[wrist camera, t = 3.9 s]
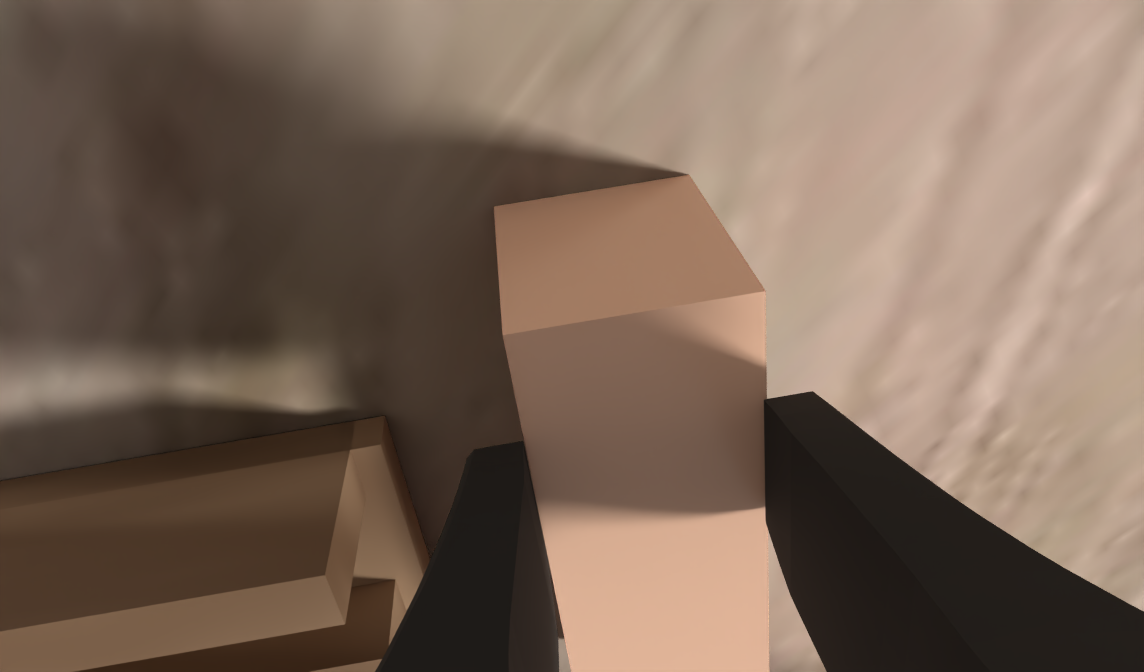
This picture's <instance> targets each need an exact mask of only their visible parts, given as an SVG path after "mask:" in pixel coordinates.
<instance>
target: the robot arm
mask: <svg viewBox="0 0 1144 672" xmlns="http://www.w3.org/2000/svg"><path fill="white" fill-rule="evenodd" d="M764 452H765V518H766V525H767V528H768V531H769V534H770V537H771V540H772V543H773V546H774V549H775V552H776V555H777V558H778V561H779V564H780V567H781V569H782V572H783V575H784V578H785V581H786V584H787V587H788V589H789V592H790V595H791V597H792V599H793V601H794V604H795V606H796V608H797V610H798V612H799V614H800V616H801V619H802V621H803V623H804V625H805V627H806V629H807V631H808V633H809V635H810V637H811V640H812V642H813V644H814V646H815V648H816V650H817V652H818V654H819V656H820V658H821V661H822V663H823V665H824V667H825V669H826V671H827V672H1144V612H1143V611H1141V610H1139V609H1138V608H1136V607H1134V606H1132V605H1130V604H1128V603H1126V602H1125V601H1123V600H1121V599H1119V598H1117V597H1116V596H1114V595H1112V594H1110V593H1108V592H1107V591H1105V590H1103V589H1101V588H1099V587H1098V586H1096V585H1094V584H1092V583H1090V582H1088V581H1087V580H1085V579H1083V578H1081V577H1079V576H1078V575H1076V574H1074V573H1072V572H1070V571H1069V570H1067V569H1065V568H1063V567H1062V566H1060V565H1058V564H1057V563H1055V562H1053V561H1052V560H1050V559H1048V558H1046V557H1045V556H1043V555H1041V554H1040V553H1038V552H1036V551H1035V550H1033V549H1032V548H1030V547H1028V546H1027V545H1025V544H1024V543H1022V542H1021V541H1019V540H1017V539H1016V538H1014V537H1013V536H1011V535H1010V534H1008V533H1006V532H1005V531H1003V530H1002V529H1000V528H999V527H997V526H996V525H994V524H992V523H991V522H989V521H988V520H986V519H985V518H983V517H981V516H980V515H978V514H977V513H975V512H974V511H972V510H971V509H970V508H968V507H967V506H965V505H964V504H962V503H961V502H959V501H958V500H956V499H955V498H954V497H952V496H951V495H949V494H948V493H947V492H945V491H944V490H942V489H941V488H940V487H938V486H937V485H935V484H934V483H933V482H931V481H930V480H929V479H927V478H926V477H924V476H923V475H922V474H920V473H919V472H917V471H916V470H915V469H913V468H912V467H911V466H909V465H908V464H907V463H905V462H904V461H902V460H901V459H900V458H898V457H897V456H896V455H894V454H893V453H892V452H891V451H889V450H888V449H887V448H885V447H884V446H883V445H881V444H880V443H879V442H878V441H876V440H875V439H874V438H872V437H871V436H870V435H868V434H867V433H866V432H865V431H863V430H862V429H861V428H859V427H858V426H857V425H856V424H854V423H853V422H852V421H850V420H849V419H848V418H847V417H845V416H844V415H843V414H842V413H840V412H839V411H838V410H836V409H835V408H834V407H833V406H831V405H830V404H829V403H827V402H826V401H825V400H823V399H822V398H821V397H819V396H818V395H817V394H815V393H814V392H813V391H812V392H806V393H800V394H794V395H788V396H782V397H777V398H771V399H765V400H764ZM375 672H559V652H558V632H557V624H556V616H555V608H554V600H553V592H552V585H551V577H550V569H549V562H548V556H547V551H546V547H545V542H544V537H543V532H542V528H541V523H540V518H539V513H538V508H537V504H536V499H535V494H534V489H533V485H532V480H531V475H530V470H529V466H528V461H527V456H526V451H525V446H524V442H523V441H521V442H515V443H509V444H503V445H497V446H492V447H486V448H480V449H474V450H473V452H472V453H471V454H470V455H469V456H468V458H467V460H466V464H465V467H464V471H463V475H462V478H461V481H460V484H459V487H458V490H457V493H456V496H455V499H454V502H453V505H452V508H451V510H450V513H449V516H448V518H447V521H446V523H445V526H444V529H443V531H442V534H441V536H440V539H439V541H438V543H437V546H436V548H435V550H434V552H433V555H432V557H431V559H430V562H429V564H428V566H427V569H426V571H425V573H424V576H423V578H422V580H421V583H420V585H419V587H418V589H417V591H416V593H415V595H414V597H413V599H412V601H411V603H410V605H409V607H408V609H407V611H406V613H405V615H404V617H403V619H402V621H401V623H400V625H399V627H398V629H397V631H396V633H395V635H394V637H393V639H392V641H391V643H390V645H389V647H388V649H387V651H386V653H385V655H384V656H383V658H382V660H381V662H380V664H379V666H378V667H377V669H376V671H375Z"/></svg>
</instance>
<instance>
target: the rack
mask: <svg viewBox="0 0 1144 672" xmlns="http://www.w3.org/2000/svg"><path fill="white" fill-rule="evenodd" d="M429 562H430V558H429V555H428V551H427V548H426V545H425V542H424V539H423V536H422V532H421V529H420V526H419V523H418V520H417V516H416V513H415V510H414V507H413V504H412V501H411V497H410V494H409V491H408V488H407V485H406V481H405V478H404V475H403V472H402V469H401V466H400V462H399V459H398V456H397V453H396V450H395V446H394V443H393V440H392V437H391V434H390V431H389V427H388V424H387V421H386V418H385V416H381V417H375V418H369V419H363V420H357V421H351V422H345V423H339V424H333V425H328V426H322V427H316V428H310V429H304V430H298V431H292V432H286V433H281V434H275V435H269V436H263V437H257V438H251V439H245V440H239V441H233V442H228V443H222V444H216V445H210V446H204V447H198V448H192V449H186V450H180V451H175V452H169V453H163V454H157V455H151V456H145V457H139V458H133V459H128V460H122V461H116V462H110V463H104V464H98V465H92V466H86V467H80V468H75V469H69V470H63V471H57V472H51V473H45V474H39V475H33V476H28V477H22V478H16V479H10V480H4V481H0V672H375V671H376V669H377V667H378V666H379V664H380V662H381V660H382V658H383V656H384V655H385V653H386V651H387V649H388V647H389V645H390V643H391V641H392V639H393V637H394V635H395V633H396V631H397V629H398V627H399V625H400V623H401V621H402V619H403V617H404V615H405V613H406V611H407V609H408V607H409V605H410V603H411V601H412V599H413V597H414V595H415V593H416V591H417V589H418V587H419V585H420V583H421V580H422V578H423V576H424V573H425V571H426V569H427V566H428V564H429Z"/></svg>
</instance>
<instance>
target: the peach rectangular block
mask: <svg viewBox="0 0 1144 672" xmlns="http://www.w3.org/2000/svg"><path fill="white" fill-rule="evenodd" d="M494 218H495V232H496V247H497V262H498V276H499V291H500V305H501V320H502V335H503V340H504V345H505V350H506V355H507V359H508V364H509V369H510V374H511V379H512V384H513V389H514V394H515V399H516V403H517V408H518V413H519V418H520V423H521V428H522V433H523V438H524V442H525V447H526V452H527V457H528V462H529V467H530V472H531V477H532V482H533V486H534V491H535V496H536V501H537V506H538V511H539V516H540V521H541V526H542V530H543V535H544V540H545V545H546V550H547V555H548V560H549V565H550V570H551V574H552V579H553V584H554V589H555V594H556V599H557V604H558V609H559V614H560V618H561V623H562V628H563V633H564V638H565V643H566V648H567V653H568V658H569V662H570V667H571V672H769V595H768V528H767V525H766V518H765V452H764V400H765V399H767V382H766V291H765V289H764V288H763V286H762V285H761V283H760V282H759V280H758V279H757V277H756V276H755V274H754V273H753V271H752V270H751V268H750V267H749V265H748V263H747V262H746V260H745V259H744V257H743V256H742V254H741V253H740V251H739V250H738V248H737V247H736V245H735V244H734V242H733V241H732V239H731V238H730V236H729V235H728V233H727V232H726V230H725V229H724V227H723V225H722V224H721V222H720V221H719V219H718V218H717V216H716V215H715V213H714V212H713V210H712V209H711V207H710V206H709V204H708V203H707V201H706V200H705V198H704V197H703V195H702V194H701V192H700V191H699V189H698V187H697V186H696V184H695V183H694V181H693V180H692V178H691V177H690V175H684V176H678V177H672V178H666V179H660V180H653V181H647V182H641V183H635V184H629V185H623V186H616V187H610V188H604V189H598V190H592V191H586V192H580V193H573V194H567V195H561V196H555V197H549V198H543V199H536V200H530V201H524V202H518V203H512V204H506V205H500V206H494Z"/></svg>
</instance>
